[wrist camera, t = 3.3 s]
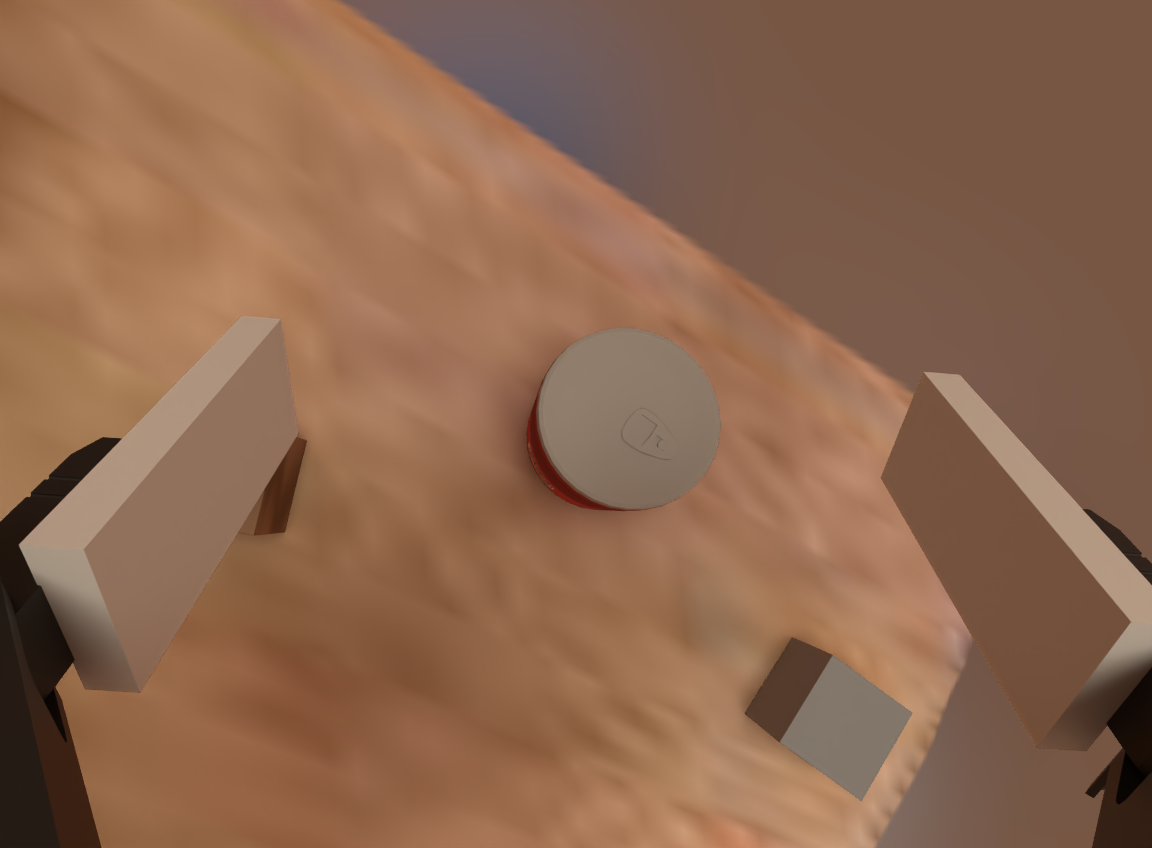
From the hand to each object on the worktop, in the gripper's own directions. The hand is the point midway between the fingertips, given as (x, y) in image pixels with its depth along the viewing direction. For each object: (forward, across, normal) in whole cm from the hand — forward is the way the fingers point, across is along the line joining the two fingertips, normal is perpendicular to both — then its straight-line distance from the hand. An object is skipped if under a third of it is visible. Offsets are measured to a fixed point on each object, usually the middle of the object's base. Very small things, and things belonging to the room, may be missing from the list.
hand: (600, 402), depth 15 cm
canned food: (+21, +2, -15) cm, 26 cm away
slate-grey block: (+12, +14, -26) cm, 32 cm away
